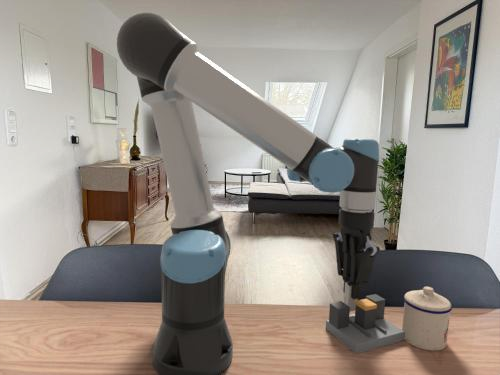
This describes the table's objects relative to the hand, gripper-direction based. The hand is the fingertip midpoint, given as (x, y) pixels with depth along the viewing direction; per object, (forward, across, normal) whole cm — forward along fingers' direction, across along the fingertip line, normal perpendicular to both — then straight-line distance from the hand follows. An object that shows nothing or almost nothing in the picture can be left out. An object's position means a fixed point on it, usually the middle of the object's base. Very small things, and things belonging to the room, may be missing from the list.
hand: (350, 309), depth 80 cm
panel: (+3, -5, 0) cm, 6 cm away
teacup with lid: (+4, -10, -11) cm, 16 cm away
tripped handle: (+1, -5, 0) cm, 5 cm away
